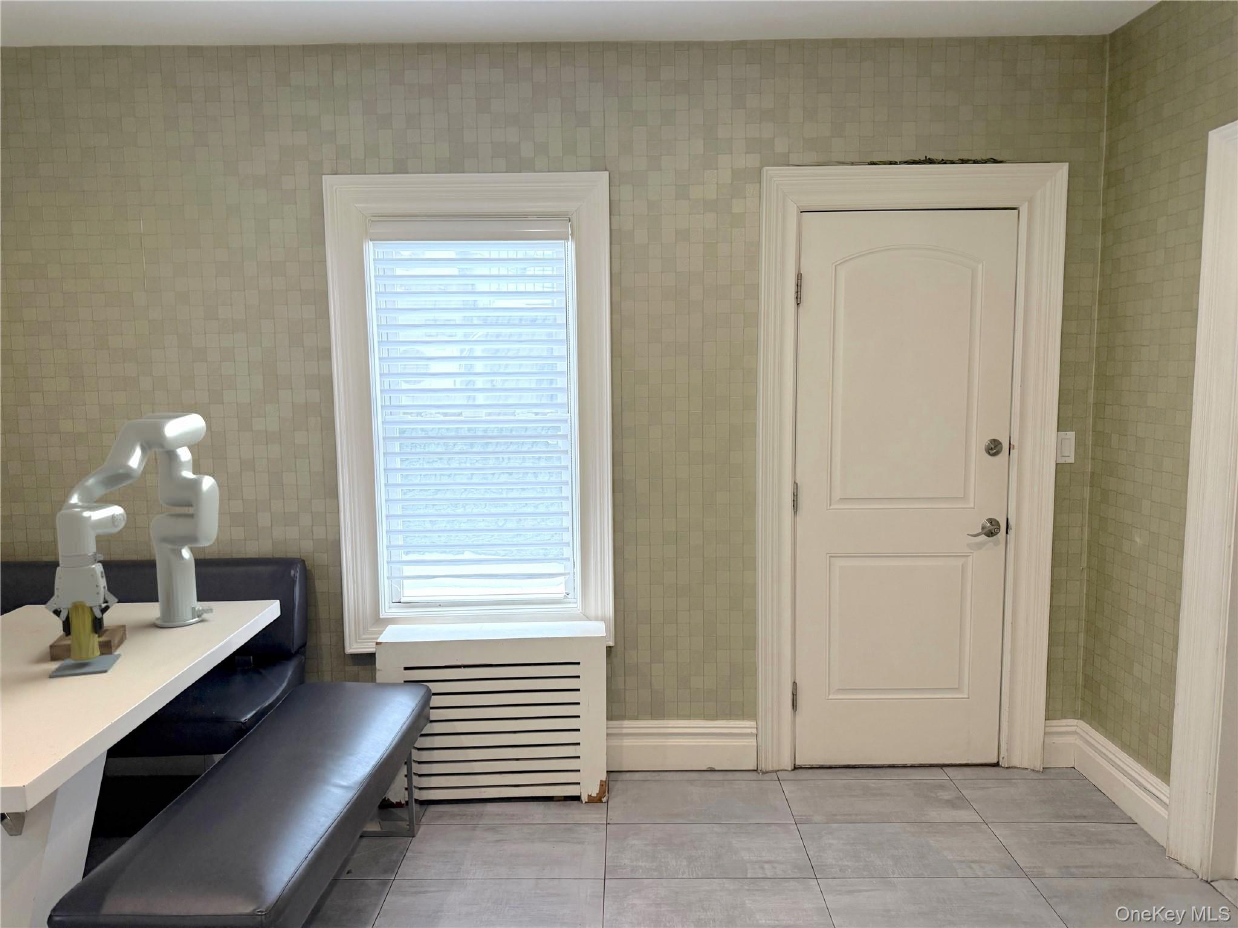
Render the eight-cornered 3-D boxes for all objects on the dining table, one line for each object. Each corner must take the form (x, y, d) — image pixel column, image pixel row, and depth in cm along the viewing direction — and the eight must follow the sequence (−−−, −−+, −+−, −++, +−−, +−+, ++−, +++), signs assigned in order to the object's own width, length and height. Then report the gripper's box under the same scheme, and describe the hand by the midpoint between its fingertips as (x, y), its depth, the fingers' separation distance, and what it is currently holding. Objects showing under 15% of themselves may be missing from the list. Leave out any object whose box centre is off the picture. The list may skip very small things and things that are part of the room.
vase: (68, 662, 195) (64, 604, 193) (72, 655, 200) (67, 598, 198) (99, 658, 197) (94, 601, 196) (101, 651, 203) (97, 595, 201)
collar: (126, 638, 220) (125, 624, 219) (112, 655, 207) (111, 639, 206) (68, 644, 216) (67, 629, 215) (50, 660, 203) (49, 645, 202)
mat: (121, 655, 206) (120, 653, 206) (107, 672, 195) (107, 669, 195) (66, 661, 203) (66, 658, 203) (48, 677, 191) (48, 675, 191)
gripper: (123, 554, 202) (128, 625, 204) (42, 559, 197) (48, 632, 199) (114, 561, 195) (119, 634, 197) (30, 566, 190) (36, 641, 192)
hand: (83, 632), depth 198 cm, fingers closed on vase, 5 cm apart
